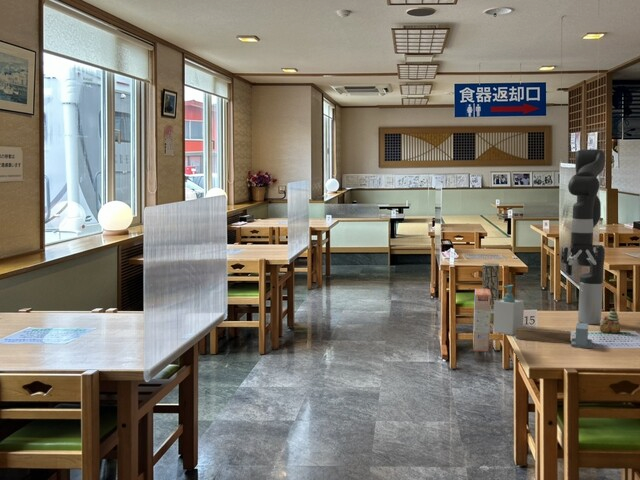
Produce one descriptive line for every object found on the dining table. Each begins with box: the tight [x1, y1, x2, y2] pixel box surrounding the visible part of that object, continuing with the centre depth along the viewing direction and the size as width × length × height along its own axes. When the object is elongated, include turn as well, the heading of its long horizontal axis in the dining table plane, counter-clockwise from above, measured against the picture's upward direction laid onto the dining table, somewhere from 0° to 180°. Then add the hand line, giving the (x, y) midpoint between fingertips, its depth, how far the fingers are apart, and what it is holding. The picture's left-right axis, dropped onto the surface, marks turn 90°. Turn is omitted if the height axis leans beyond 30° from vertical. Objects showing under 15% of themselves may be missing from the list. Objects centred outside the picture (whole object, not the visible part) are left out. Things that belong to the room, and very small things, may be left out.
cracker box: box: [472, 288, 491, 353], centre depth 260 cm, size 14×6×21 cm, turn 168°
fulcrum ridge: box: [570, 322, 593, 349], centre depth 266 cm, size 10×7×7 cm
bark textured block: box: [481, 262, 500, 323], centre depth 305 cm, size 7×7×25 cm
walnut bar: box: [515, 327, 572, 344], centre depth 273 cm, size 4×20×4 cm, turn 71°
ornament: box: [599, 307, 621, 334], centre depth 286 cm, size 8×6×10 cm
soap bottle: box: [493, 284, 525, 336], centre depth 285 cm, size 9×9×19 cm
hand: (580, 274), depth 262 cm, fingers open, 8 cm apart
